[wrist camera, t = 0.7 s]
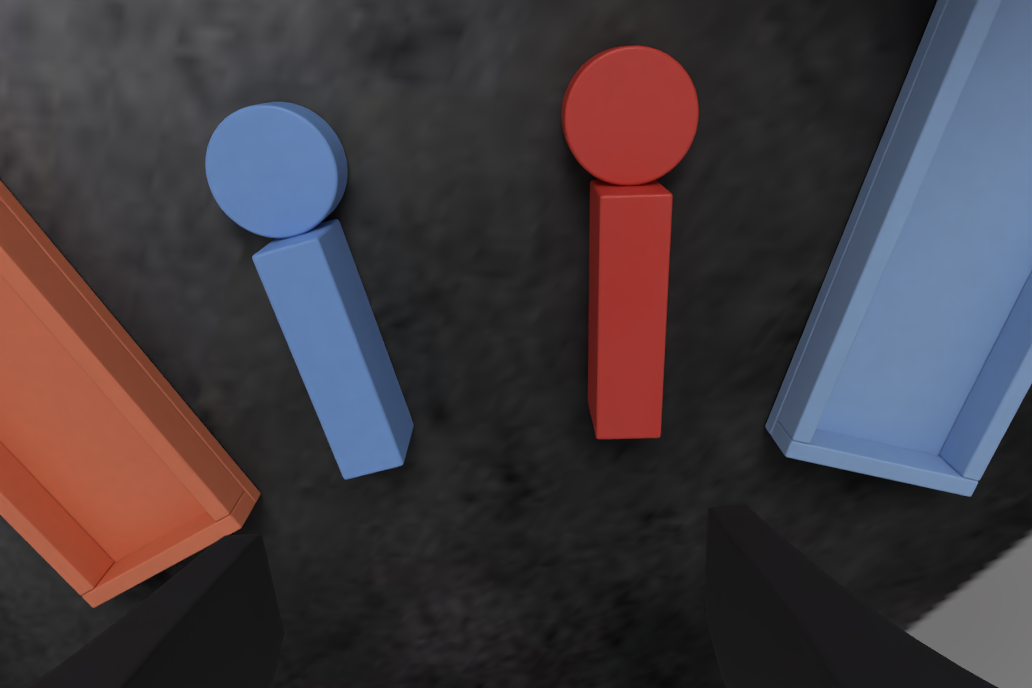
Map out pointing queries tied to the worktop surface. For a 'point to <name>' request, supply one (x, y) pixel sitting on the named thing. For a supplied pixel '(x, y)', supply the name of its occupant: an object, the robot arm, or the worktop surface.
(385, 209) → the worktop surface
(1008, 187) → the blue rest
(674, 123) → the red spoon
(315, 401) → the blue spoon
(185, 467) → the orange tray
